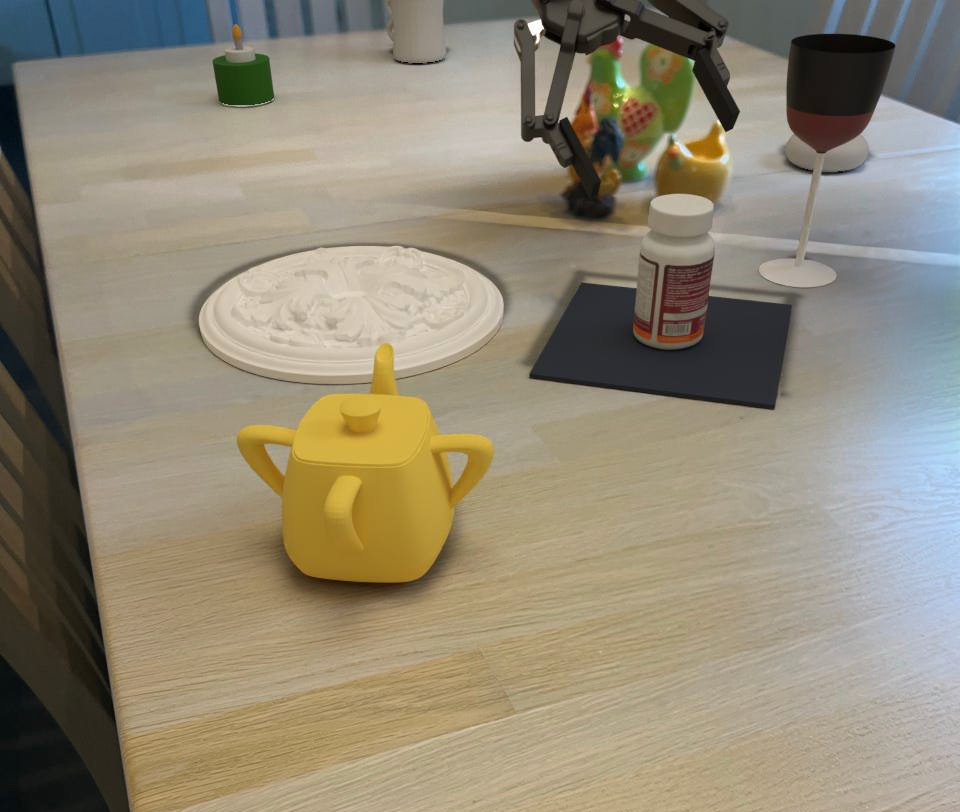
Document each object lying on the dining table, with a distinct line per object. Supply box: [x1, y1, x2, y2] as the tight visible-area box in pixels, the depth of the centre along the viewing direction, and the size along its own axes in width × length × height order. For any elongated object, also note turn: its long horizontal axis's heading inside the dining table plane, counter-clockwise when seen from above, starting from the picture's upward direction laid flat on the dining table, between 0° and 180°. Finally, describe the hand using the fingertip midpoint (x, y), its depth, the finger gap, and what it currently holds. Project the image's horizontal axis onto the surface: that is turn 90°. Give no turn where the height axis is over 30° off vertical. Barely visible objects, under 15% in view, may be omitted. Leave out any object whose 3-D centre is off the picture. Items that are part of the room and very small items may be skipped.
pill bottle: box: [633, 193, 716, 350], centre depth 85 cm, size 6×6×11 cm
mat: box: [528, 281, 793, 410], centre depth 89 cm, size 20×20×1 cm
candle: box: [212, 23, 275, 105], centre depth 150 cm, size 8×8×10 cm
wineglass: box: [758, 33, 896, 288], centre depth 94 cm, size 8×9×20 cm
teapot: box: [236, 343, 495, 583], centre depth 64 cm, size 14×13×10 cm
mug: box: [385, 0, 447, 64], centre depth 170 cm, size 12×9×10 cm
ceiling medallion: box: [198, 245, 505, 385], centre depth 93 cm, size 28×28×3 cm
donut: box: [785, 133, 870, 173], centre depth 126 cm, size 10×4×10 cm
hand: (664, 156), depth 89 cm, fingers open, 13 cm apart
